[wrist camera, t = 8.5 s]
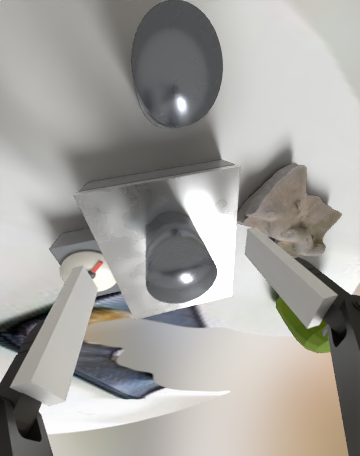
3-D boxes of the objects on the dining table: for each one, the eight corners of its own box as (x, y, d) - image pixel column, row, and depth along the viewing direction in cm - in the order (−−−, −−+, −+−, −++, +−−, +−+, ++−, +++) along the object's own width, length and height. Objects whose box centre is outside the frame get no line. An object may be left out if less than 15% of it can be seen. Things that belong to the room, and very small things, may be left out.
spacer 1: (145, 132, 15) (144, 131, 10) (129, 57, 12) (118, 3, 7) (197, 124, 15) (222, 120, 10) (192, 50, 13) (223, -4, 8)
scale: (101, 302, 25) (95, 326, 22) (31, 191, 16) (3, 205, 13) (220, 274, 27) (230, 292, 24) (221, 159, 17) (237, 165, 14)
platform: (135, 314, 23) (134, 319, 22) (77, 192, 13) (73, 195, 13) (229, 291, 24) (231, 295, 23) (236, 164, 15) (240, 166, 14)
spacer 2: (151, 257, 17) (154, 310, 12) (139, 216, 15) (136, 261, 9) (196, 248, 18) (217, 294, 13) (193, 206, 15) (217, 243, 10)
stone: (224, 216, 22) (239, 231, 18) (280, 152, 19) (311, 156, 15) (281, 256, 28) (300, 274, 24) (329, 213, 25) (359, 226, 21)
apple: (258, 301, 33) (301, 366, 24) (299, 264, 29) (370, 324, 20) (288, 311, 38) (334, 368, 28) (327, 280, 34) (395, 335, 25)
